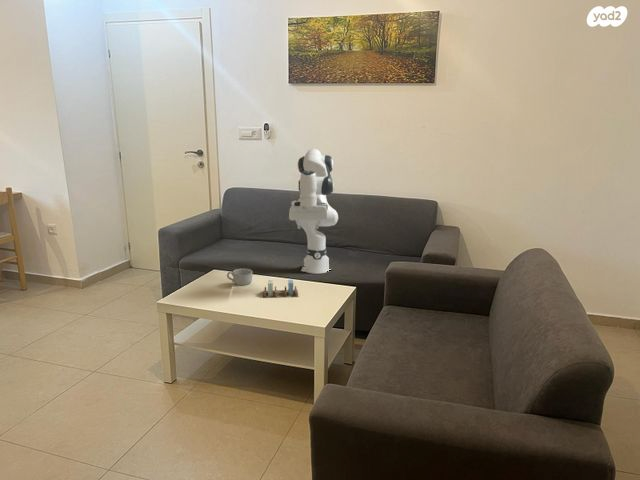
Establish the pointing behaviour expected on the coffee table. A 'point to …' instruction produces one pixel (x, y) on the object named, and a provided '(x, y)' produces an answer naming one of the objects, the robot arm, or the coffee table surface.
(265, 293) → the rack
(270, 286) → the sage plate
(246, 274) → the teacup
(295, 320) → the coffee table surface
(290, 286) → the blue plate
